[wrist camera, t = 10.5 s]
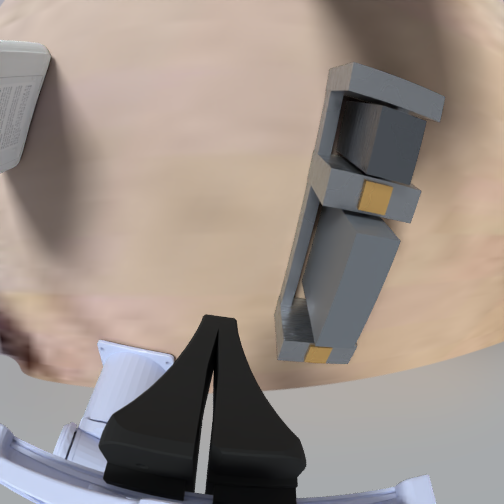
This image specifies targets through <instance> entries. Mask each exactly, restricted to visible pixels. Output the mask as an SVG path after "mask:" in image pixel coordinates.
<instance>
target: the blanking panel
mask: <svg viewBox="0 0 504 504" xmlns="http://www.w3.org/2000/svg"><path fill="white" fill-rule="evenodd" d="M399 244H400V240H399V238H398V237H397V236H396V235H395V234H394V233H393V231H392V230H391V229H390V228H389V227H388V226H387V224H386V223H385V222H384V221H383V220H382V219H381V217H378V216H374V215H369V214H364V213H359V212H354V211H349V210H344V209H339V208H333V207H328V206H323V205H322V209H321V213H320V217H319V221H318V225H317V228H316V232H315V236H314V240H313V243H312V247H311V251H310V254H309V258H308V261H307V265H306V268H305V272H304V275H303V279H302V284H303V288H304V293H305V298H306V302H307V307H308V312H309V317H310V322H311V327H312V332H313V337H314V342H315V346H319V347H335V348H354V346H355V344H356V342H357V340H358V338H359V336H360V334H361V332H362V330H363V328H364V326H365V324H366V322H367V319H368V317H369V315H370V313H371V311H372V309H373V307H374V304H375V302H376V300H377V298H378V295H379V293H380V291H381V289H382V286H383V284H384V282H385V279H386V277H387V274H388V272H389V270H390V267H391V265H392V262H393V260H394V257H395V254H396V252H397V249H398V247H399Z"/></svg>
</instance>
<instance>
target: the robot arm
mask: <svg viewBox="0 0 504 504" xmlns="http://www.w3.org/2000/svg"><path fill="white" fill-rule="evenodd" d="M97 345H98V349H99V352H100V356H101V360H102V363H103V369H102V371H101V374H100V376H99V379H98V381H97V383H96V386H95V388H94V391H93V393H92V396H91V398H90V400H89V403H88V405H87V408H86V411H85V413H84V416H83V417H82V419H81V421H80V424H79V426H78V428H76V426H77V425H76V424H75V423H73V422H71V423H70V424H66V425H64V427H63V429H62V431H61V434H60V436H59V438H58V441H57V444H56V446H55V449H54V452H53V454H51V453H49V452H47V451H45V450H42V449H40V448H38V447H36V446H34V445H32V444H29V443H27V442H25V441H23V440H21V439H19V438H17V437H15V436H14V435H13V433H12V432H11V431H10V430H9V429H8V428H7V427H5V426H4V425H2V424H1V423H0V484H2V485H4V486H5V487H7V488H8V489H10V490H12V491H14V492H15V493H17V494H19V495H21V496H23V497H25V498H26V499H28V500H30V501H32V502H34V503H36V504H436V500H435V496H434V492H433V488H432V485H431V481H430V477H429V475H428V474H425V475H421V476H417V477H413V478H409V479H406V480H403V481H402V482H400V483H398V484H397V485H396V486H395V487H390V488H385V489H379V490H374V491H367V492H361V493H353V494H346V495H336V496H326V497H314V498H313V497H312V498H296V487H297V484H298V483H297V477H298V476H299V475H300V474H301V472H302V471H303V470H304V469H305V467H306V458H305V454H304V450H303V447H302V444H301V442H300V439H299V438H298V437H297V436H296V435H295V434H294V433H293V432H292V431H291V430H290V429H289V428H288V427H287V426H286V424H285V423H284V422H283V421H282V420H281V418H280V417H279V416H278V414H277V413H276V412H275V410H274V409H273V407H272V406H271V405H270V403H269V402H268V400H267V399H266V397H265V396H264V394H263V392H262V391H261V389H260V387H259V385H258V384H257V382H256V380H255V378H254V376H253V374H252V371H251V369H250V367H249V364H248V362H247V359H246V357H245V354H244V351H243V348H242V345H241V342H240V338H239V334H238V328H237V321H236V319H235V318H228V317H221V316H214V315H207V314H206V315H204V316H203V319H202V321H201V323H200V325H199V327H198V329H197V331H196V333H195V334H194V336H193V337H192V339H191V340H190V342H189V344H188V345H187V347H186V348H185V349H184V351H183V352H182V353H181V355H180V356H179V357H178V358H177V360H176V361H175V362H174V357H173V356H172V355H170V354H166V353H161V352H155V351H150V350H145V349H140V348H135V347H131V346H126V345H121V344H117V343H113V342H108V341H104V340H99V341H98V343H97ZM213 370H214V382H213V422H212V431H211V440H210V451H209V461H208V470H207V480H206V490H205V494H199V493H194V492H195V481H196V472H197V463H198V454H199V445H200V436H201V428H202V427H201V426H202V420H203V414H204V408H205V404H206V400H207V396H208V392H209V387H210V383H211V379H212V374H213Z"/></svg>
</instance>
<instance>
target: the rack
mask: <svg viewBox="0 0 504 504" xmlns="http://www.w3.org/2000/svg"><path fill="white" fill-rule="evenodd" d="M343 95H344V96H348V97H351V98H355V99H358V100H362V101H365V102H369V103H372V104H369V103H361V102H353V101H346V106H345V111H344V115H343V120H342V125H341V130H340V134H339V139H338V143H337V148H336V151H338V152H339V153H340V154H342V155H343V156H344V157H343V156H339V155H335V154H331V151H332V147H333V143H334V138H335V133H336V129H337V124H338V119H339V115H340V110H341V105H342V100H343ZM444 100H445V97H444V96H442V95H440V94H438V93H436V92H433V91H431V90H429V89H427V88H424V87H422V86H420V85H417V84H415V83H412V82H410V81H407V80H405V79H402V78H399V77H397V76H394V75H391V74H389V73H386V72H383V71H380V70H377V69H374V68H371V67H368V66H365V65H362V64H358V63H355V62H352V63H348V64H345V65H342V66H338V67H335V68H332V69H330V70H329V76H328V81H327V86H326V96H325V101H324V106H323V111H322V116H321V121H320V126H319V131H318V135H317V140H316V145H315V150H314V151H313V155H312V160H311V165H310V169H309V174H308V178H307V179H308V182H307V186H306V191H305V195H304V199H303V204H302V208H301V212H300V217H299V221H298V225H297V229H296V233H295V238H294V242H293V246H292V250H291V254H290V258H289V262H288V266H287V270H286V274H285V278H284V282H283V286H282V290H281V294H280V296H279V299H278V303H277V306H276V310H275V314H274V317H275V332H276V346H277V360H285V361H297V362H309V363H332V364H348V363H349V361H350V359H351V357H352V355H353V353H354V351H355V350H356V348H357V343H356V344H355V346H354V348H335V347H319V346H315V342H314V337H313V332H312V327H311V322H310V317H309V312H308V307H307V302H306V299H303V298H294V295H295V292H296V288H297V285H298V281H299V278H300V274H301V270H302V267H303V263H304V260H305V256H306V252H307V248H308V245H309V241H310V237H311V233H312V230H313V226H314V222H315V218H316V214H317V210H318V206H319V202H321V204H322V205H323V206H328V207H333V208H339V209H344V210H349V211H354V212H359V213H364V214H369V215H374V216H378V217H383V218H388V219H392V220H397V221H402V222H406V223H411V221H412V218H413V215H414V212H415V209H416V206H417V203H418V200H419V197H420V194H421V190H420V189H418V188H417V187H415V186H414V185H413V184H411V179H412V176H413V172H414V169H415V165H416V162H417V158H418V154H419V150H420V146H421V143H422V139H423V134H424V130H425V126H426V122H427V121H424V120H422V119H419V118H417V117H420V118H425V119H429V120H433V121H437V122H440V120H441V115H442V110H443V105H444ZM411 115H412V116H411ZM414 116H416V117H414Z"/></svg>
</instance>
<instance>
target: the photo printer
mask: <svg viewBox="0 0 504 504" xmlns="http://www.w3.org/2000/svg"><path fill="white" fill-rule="evenodd" d="M50 58H51V55H50V54H49V51H48V50H47V48H46V47H45V46H44V45H43V44H40V43H34V42H24V41H10V40H0V173H3V172H5V171H7V170H9V169H11V168H13V167H15V166H16V165H17V164H18V163H19V161H20V158H21V155H22V152H23V148H24V145H25V141H26V137H27V133H28V129H29V126H30V122H31V119H32V115H33V112H34V109H35V105H36V102H37V99H38V96H39V93H40V90H41V87H42V84H43V81H44V78H45V75H46V72H47V69H48V66H49V62H50Z"/></svg>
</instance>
